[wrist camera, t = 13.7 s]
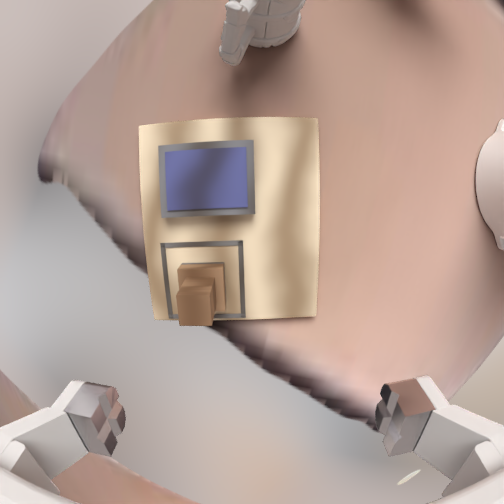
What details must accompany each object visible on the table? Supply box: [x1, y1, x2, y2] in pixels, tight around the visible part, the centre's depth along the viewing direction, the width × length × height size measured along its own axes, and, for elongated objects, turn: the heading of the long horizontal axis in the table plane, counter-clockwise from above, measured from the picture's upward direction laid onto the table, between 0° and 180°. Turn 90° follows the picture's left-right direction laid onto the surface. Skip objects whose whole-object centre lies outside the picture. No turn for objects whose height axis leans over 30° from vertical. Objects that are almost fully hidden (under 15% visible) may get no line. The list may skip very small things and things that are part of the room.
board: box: [139, 117, 320, 320], centre depth 30 cm, size 18×21×3 cm
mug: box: [219, 0, 306, 66], centre depth 20 cm, size 8×12×12 cm, turn 153°
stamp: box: [176, 262, 226, 326], centre depth 28 cm, size 4×4×7 cm
